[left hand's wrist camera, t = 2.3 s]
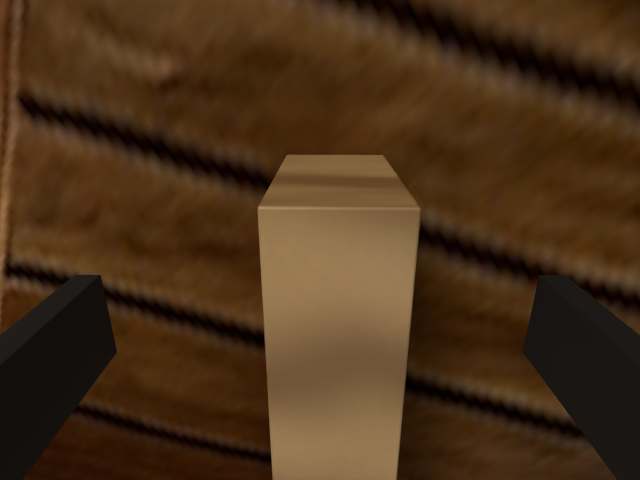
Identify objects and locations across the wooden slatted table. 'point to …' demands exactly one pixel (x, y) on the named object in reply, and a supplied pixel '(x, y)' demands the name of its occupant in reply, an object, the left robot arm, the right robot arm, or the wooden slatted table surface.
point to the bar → (337, 314)
